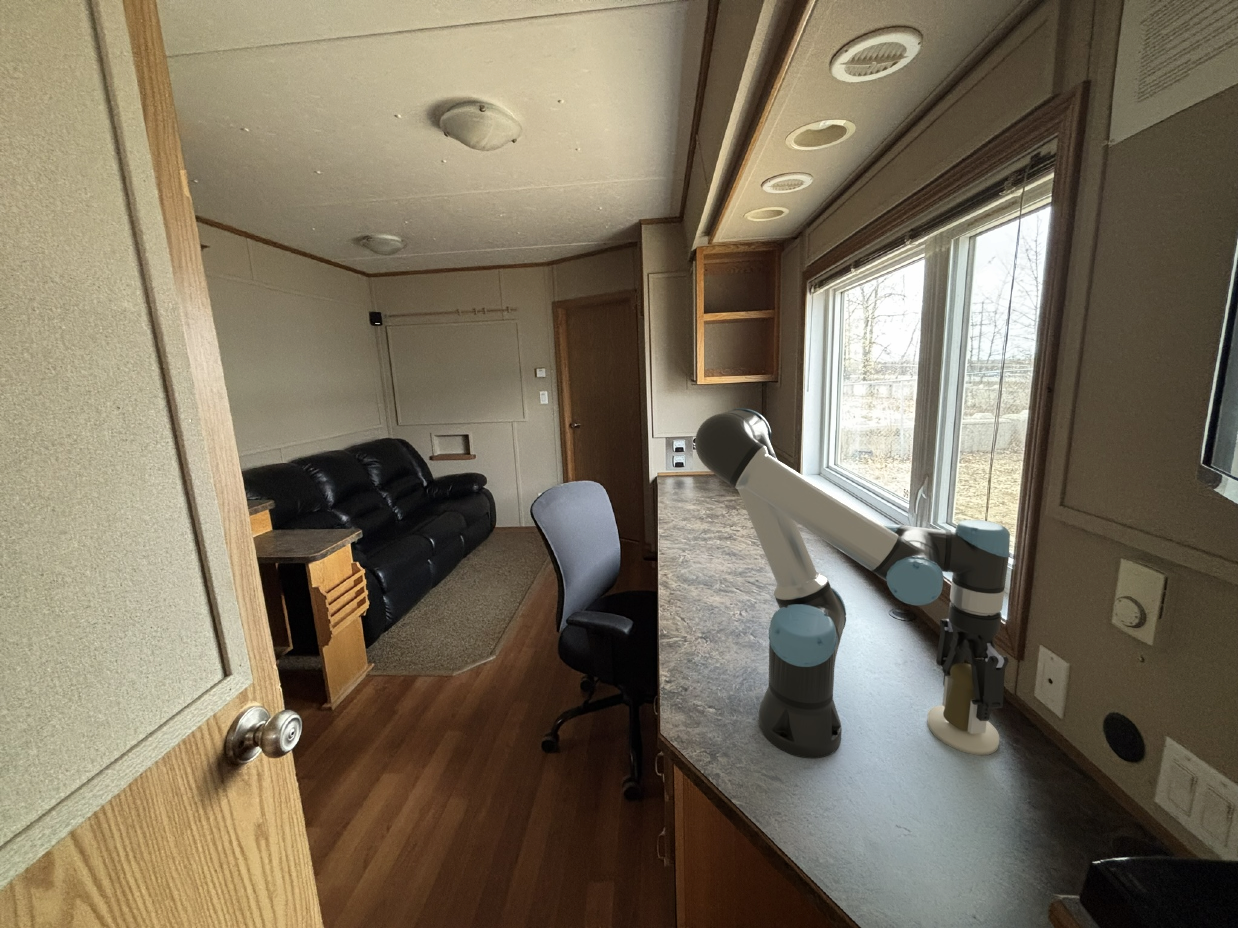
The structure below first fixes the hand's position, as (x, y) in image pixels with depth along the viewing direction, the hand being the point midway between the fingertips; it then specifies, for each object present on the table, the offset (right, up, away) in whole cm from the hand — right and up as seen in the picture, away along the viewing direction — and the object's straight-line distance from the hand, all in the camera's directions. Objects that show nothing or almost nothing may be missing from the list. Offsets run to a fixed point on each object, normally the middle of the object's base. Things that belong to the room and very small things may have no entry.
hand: (963, 718), depth 89 cm
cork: (0, 0, 0) cm, 0 cm away
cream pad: (0, -3, +1) cm, 3 cm away
